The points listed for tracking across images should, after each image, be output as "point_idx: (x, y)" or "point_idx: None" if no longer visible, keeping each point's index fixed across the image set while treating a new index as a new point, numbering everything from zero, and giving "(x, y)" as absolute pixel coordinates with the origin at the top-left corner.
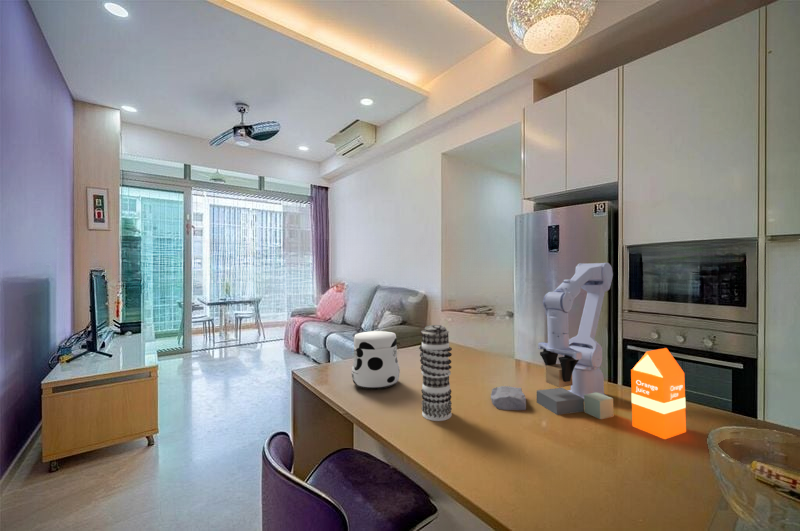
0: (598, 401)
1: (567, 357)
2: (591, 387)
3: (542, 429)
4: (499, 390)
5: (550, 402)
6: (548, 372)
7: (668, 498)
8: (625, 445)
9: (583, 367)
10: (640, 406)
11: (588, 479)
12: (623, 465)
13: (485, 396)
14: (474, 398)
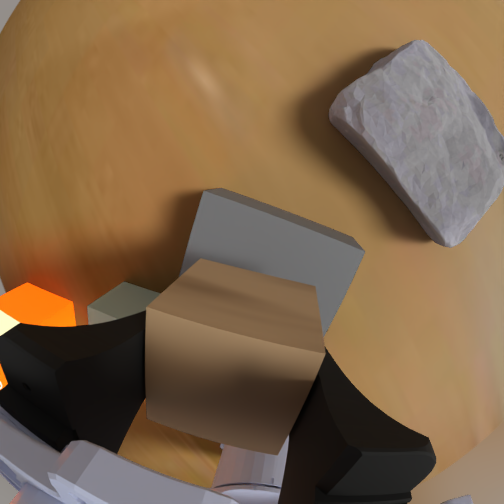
0: (94, 306)
1: (32, 407)
2: None
3: (181, 43)
4: (482, 141)
5: (253, 204)
6: (291, 316)
7: None
8: (34, 178)
9: (230, 496)
10: (18, 320)
11: (46, 14)
12: (20, 99)
13: (499, 128)
14: (499, 83)
